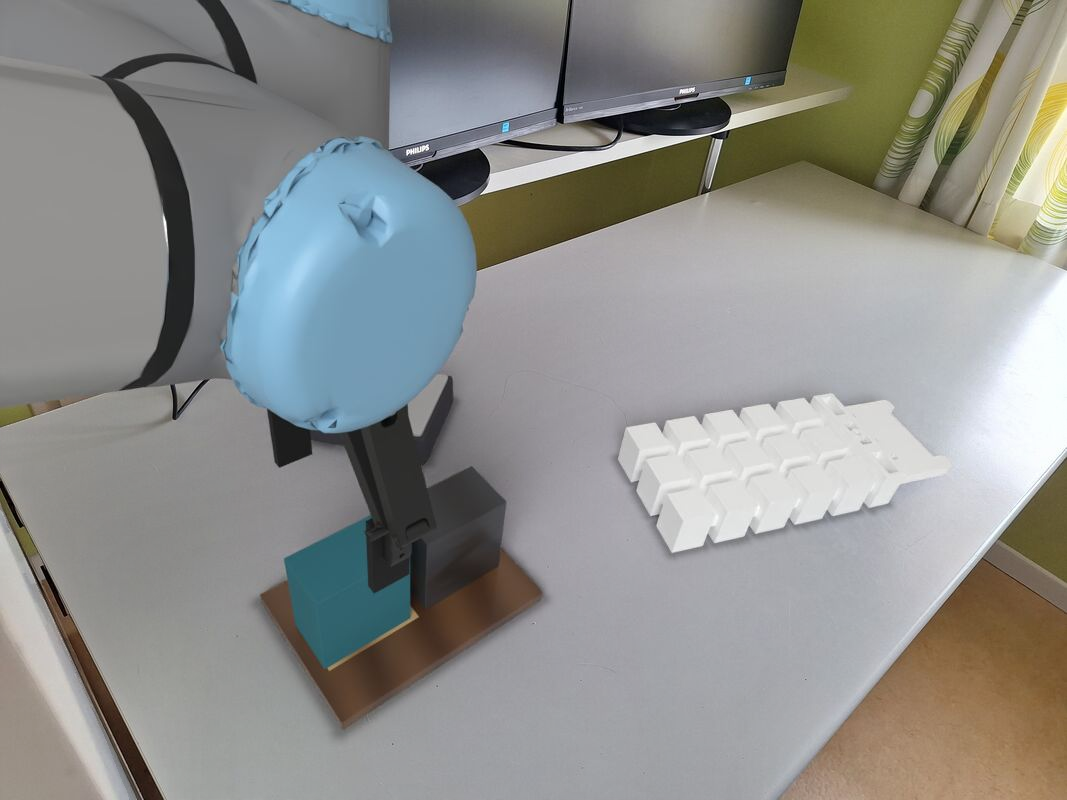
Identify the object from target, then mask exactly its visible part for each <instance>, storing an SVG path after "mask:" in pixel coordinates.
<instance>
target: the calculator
mask: <svg viewBox="0 0 1067 800" xmlns="http://www.w3.org/2000/svg"><path fill="white" fill-rule="evenodd" d="M453 402H454V378H453V376H451V375H447V374H443V373H437V375H436V376H435V377H434V378H433V380H432V381H431V382H430V383H429V384H428V385H427V386H426V387H425V388H424V389H423V390H422V391H421V392H420V393H419V394H418V395H417V396H416V397H415V398H414V399H413V400H411V401H410V402H409V403H408V416H409V420H410V424H411V428H412V431H413V435H414V439H415V443H416V447H417V451H418V455H419V459H420V463H421V465H424V464H425V463H426V462H427V461H428V459H429V456H430V454H431V453H432V450H433V448H434V446H435V443H436V441H437V439H438V436H439V434H440V432H441V430H442V428H443V425H444V423H445V421H446V419H447V416H448V414H449V412H450V409H451V407H452V405H453ZM310 434H311V441H312V440H314V441H318V442H322V443H323V442H324V443H328V444H334V445H340V446H344V444H343V441H342V439H341V436H340V434H339V433H323V432H322V431H320V430H310Z"/></svg>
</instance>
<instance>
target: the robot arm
mask: <svg viewBox="0 0 1067 800" xmlns="http://www.w3.org/2000/svg"><path fill="white" fill-rule="evenodd" d="M390 20H391V19H390V5H389V0H0V409H6V408H12V407H19V406H26V405H27V406H28V405H32V404H33V405H34V404H39V403H40V404H41V403H47V402H54V401H60V400H67V399H75V398H81V397H82V398H83V397H88V396H95V395H96V396H97V395H102V394H108V393H115V392H123V391H129V390H137V389H141V388H142V389H143V388H160V387H164V386H173V385H179V384H185V383H187V384H188V383H193V382H199V381H200V382H201V381H206V380H213V379H214V380H215V379H218V380H219V379H220V380H222V379H223V380H229V381H233V384H234V386H235V387H236V389H237V390H238V392H239V393H240V395H242V396H243V397H244V399H246V400H247V401H248V402H249V403H250V404H252V405H254V406H255V407H258V408H262V409H266V413H267V418H268V427H269V433H270V440H271V447H272V453H273V460H274V461H273V462H274V463H275V465H276V466H277V467H278V469H281V468H283V467H285V466H288V465H290V464H293V463H295V462H297V461H299V460H302V459H305V458H307V457H309V456H311V455H313V446H312V439H311V434H310V430H320V431H322V432H323V433H339V434H340V436H341V439H342V441H343V444H344V445H343V447H344V449H345V452H346V454H347V457H348V459H349V462H350V465H351V467H352V470H353V473H354V475H355V478H356V480H357V483H358V485H359V488H360V491H361V494H362V496H363V498H364V501H365V503H366V506H367V508H368V511H369V514H370V515H371V517H372V518H371V519H369V520H367V521H366V531H364V533H365V535H366V545H367V570H368V586H369V588H370V589H371V590H372V592H373V593H374V594H375V593H376V592H378V591H380V590H382V589H384V588H385V587H387V586H389V585H391V584H393V583H395V582H396V581H398V580H400V579H402V578H404V577H405V576H407V575H409V569H410V556H411V554H412V544H411V543H412V542H414V541H416V540H418V539H420V538H422V537H424V536H426V535H427V534H429V533H431V532H433V531H435V530H436V528H437V526H436V521H435V518H434V514H433V510H432V506H431V502H430V498H429V494H428V490H427V488H428V486H427V483H426V479H425V475H424V472H423V467H422V464H421V463H420V459H419V455H418V451H417V447H416V443H415V439H414V435H413V431H412V428H411V424H410V420H409V416H408V403H409V402H410V401H411V400H413V399H414V398H415V397H416V396H417V395H418V394H419V393H420V392H421V391H422V390H423V389H424V388H425V387H426V386H427V385H428V384H429V383H430V382H431V381H432V380H433V378H434V377H435V376H436V375H437V374H439V372H440V371H441V369H442V368H443V367H444V366H445V364H446V362H447V361H448V360H449V358H450V357H451V355H452V354H453V352H454V350H455V348H456V346H457V344H458V343H459V340H460V339H461V336H462V334H463V333H464V322H465V318H466V315H467V313H468V311H469V310H470V304H471V303H472V301H473V299H474V297H475V292H476V287H477V277H478V264H477V252H476V244H475V241H474V238H473V234H472V231H471V227H470V225H469V223H468V221H467V219H466V217H465V216H464V214H463V212H462V210H461V209H460V207H459V206H458V205H457V203H456V202H455V200H454V199H453V198H451V196H449V194H447V192H445V191H444V190H443V189H442V188H440V186H438V185H437V184H435V183H434V182H433V181H431V180H430V179H428V178H427V177H425V176H423V174H420V173H419V172H417V171H416V170H415V169H414V168H412V167H410V166H409V165H407V164H405V163H404V162H403V161H401V160H400V159H398V158H397V157H395V156H394V154H393V153H392V152H391V151H390V106H391V105H390V103H391V102H390V100H391V99H390V95H391V44H392V43H393V33H392V31H391V23H390V22H391V21H390Z"/></svg>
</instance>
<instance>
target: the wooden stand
mask: <svg viewBox="0 0 1067 800" xmlns="http://www.w3.org/2000/svg"><path fill="white" fill-rule="evenodd" d="M427 490H428V494H429V498H430V502H431V506H432V510H433V514H434V518H435V521H436V526H437V528H436V530H435V531H433V532H431V533H429V534H427V535H426V536H424V537H422V538H420V539H418V540H416V541H414V542H412V543H411V544H412V554H411V556H410V619H408V620H406V621H405V622H403V623H402V624H400V625H398V626H397V627H395V628H393V629H392V630H390V631H388V632H387V633H385V634H383V635H382V636H380V637H378V638H377V639H375V640H373V641H372V642H370V643H368V644H367V645H365V646H363V647H362V648H360V649H358V650H357V651H355V652H353V653H352V654H350V655H348V656H347V657H345V658H343V659H342V660H340V661H338V662H337V663H335V664H333V665H332V666H330V667H328V668H327V669H324V668H323V666H322V665H321V663H320V662H319V660H318V659H317V657H316V656H315V654H314V653H313V651H312V650H311V648H310V646H309V645H308V643H307V642H306V640H305V639H304V637H303V636H302V634H301V633H300V631H299V630H298V628H297V627H296V625H295V619H294V614H293V608H292V602H291V597H290V591H289V585H288V580H285V581H284V582H281V583H279V584H278V585H276V586H274V587H272V588H270V589H267V590H266V591H264V592H262V593H260V594H259V597H260V601H261V604H262V606H263V607H264V609H265V611H266V612H267V614H268V615H269V617H270V619H271V620H272V621H273V623H274V625H275V626H276V628H277V629H278V632H280V634H281V636H282V638H283V639H284V640H285V642H286V644H287V645H288V647H289V648H290V650H291V651H292V653H293V654H294V656H295V658H296V659H297V661H298V662H299V665H301V668H302V669H303V670H304V672H305V674H306V675H307V677H308V678H309V679H310V682H311V684H312V685H313V687H314V688H315V690H316V691H317V692H318V694H319V696H320V698H322V700H323V702H324V703H325V705H326V707H327V709H328V710H329V712H330V713H331V715H332V716H333V718H334V719H335V721H336V722H337V724H338V726H339V728H340V729H341V730H342V731H344V730H345V729H347V728H348V727H350V726H352V725H353V724H354V723H356V722H358V721H359V720H361V719H362V718H363V717H365V716H367V715H368V714H370V713H371V712H373V711H375V710H376V709H377V708H380V707H381V706H382V705H383V704H385V703H386V702H388V701H389V700H391V699H392V698H394V697H396V696H397V695H399V694H401V692H403V691H405V690H407V689H408V688H409V687H411V686H412V685H414V684H415V683H417V682H418V681H420V680H421V679H423V678H425V677H426V676H428V675H429V674H430V673H432V672H434V671H435V670H437V669H438V668H439V667H441V666H443V665H445V664H446V663H448V662H449V661H451V660H452V659H454V658H455V657H457V656H458V655H459V654H461V653H463V652H464V651H466V650H467V649H469V648H470V647H472V646H473V645H475V644H476V643H478V642H480V641H481V640H482V639H484V638H485V637H488V635H490V634H491V633H493V632H495V631H496V630H499V628H501V627H502V626H504V625H506V624H508V623H509V622H510V621H512V620H513V619H514V618H517V617H518V616H519V615H521V614H523V613H524V612H525V611H527V610H528V609H530V608H531V607H532V606H534V605H535V604H537V603H539V602H540V601H542V598H543V591H542V590H541V589H540V588H539V586H537V585H536V584H535V582H533V580H532V579H531V578H530V577H529V576H528V575H527V574H526V573H525V572H524V570H522V568H520V566H519V565H518V564H517V563H516V562H515V561H514V560H513V559H512V558H511V557H510V555H509V554H508V553H507V552H506V551H505V550H504V549H503V548H502V541H503V534H504V524H505V517H506V508H507V500H506V499H505V498H504V497H503V496H502V495H501V494H500V493H499V492H498V491H497V490H496V489H495V488H494V487H493V486H492V484H490V483H489V482H488V480H486V479H485V478H484V477H483V476H482V475H481V474H480V473H479V472H478V471H477V470H476V469H475V468H474V467H473V466H472V465H471V466H469V467H467V468H465V469H462V470H460V471H458V472H457V473H455V474H452V475H451V476H448V477H447V478H445V479H442V480H440V481H438V482H437V483H435V484H433V485H430V486H429V487H427Z"/></svg>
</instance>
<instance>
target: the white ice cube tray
mask: <svg viewBox="0 0 1067 800" xmlns="http://www.w3.org/2000/svg"><path fill="white" fill-rule="evenodd" d="M894 410H895V406H894V404H892V402H890V401H889V400H887V399H880V400H875V401H870V402H863V403H858V404H851V405H846V406H845V405H844V404H843V403H842V402H841V401H840V400H839V399H838V398H837V397H836V396H835V394H833V392H829V393H825V394H819V395H813V396H812V398H811V400H810V402H809V401H808V400H806V398H805V397H799V398H793V399H787V400H782V401H778V402H777V404H776V407H775V409H774V408H773V406H771V404H770V403H765V404H764V403H763V404H757V405H752V406H746V407H742V408H741V410H740V413H739V416H738V415H737V413H736V412H735V411H734V410H733V409H728V410H722V411H716V412H711V413H704V415H703V419H702V422H701V423H700V421H699V420H698V418H697V417H696V416H695V415H691V416H685V417H680V418H674V419H669V420H666V421H665V423H664V427H663V430H662V431H661V429H660V427H659V425H658V424H657V423H656V422H650V423H644V424H638V425H631V426H626V427H625V430H624V433H623V438H622V441H621V445H620V449H619V453H618V457H617V461H618V463H619V464H620V466H621V467H622V469H623V471H624V473H625V475H626V476H627V478H628V480H629V482H630V483H634V482H638V483H637V486H636V490H635V492H636V494H637V496H638V497H639V499H640V501H641V502H642V504H643V506H644V507H645V509H646V511H647V513H648V514H649V516H650V517H652V516H658V519H657V521H656V525H655V527H656V528H657V530H658V532H659V534H660V536H661V537H662V540H663V541H664V542H665V544H666V546H667V547H668V549H669V551H670V553H671V554H674V553H678V552H682V551H686V550H687V551H688V550H691V549H695V548H701V547H703V546H704V544H705V541H706V539H707V537H708V536H709V537H710V539H711V541H712V543H713V544H718V543H722V542H727V541H730V540H734V539H739V538H743V537H745V536H746V533H747V531H748V529H749V527H750V529H751V530H752V532H753V533H754V535H755V534H756V535H757V534H761V533H766V532H769V531H774V530H779V529H783V528H785V526H786V524H787V521H788V520H790V521H791V522H792V524H793V525H794V526H795V525H801V524H805V523H810V522H813V521H818V520H822V519H823V518H824V517H825V514H826V512H828V513H829V514H830V516H831V517H835V516H840V515H844V514H848V513H853V512H857V511H860V509H861V507H862V506H863V504H865V506H866V507H867V509H870V508H875V507H880V506H884V505H887V504H889V503H890V502H891V500H892V498H893V496H895V495H894V494H895V493H896V492H897V490H898V488H899V487H900V485H905V484H909V483H913V482H917V481H923V480H928V479H931V478H935V477H940V476H944V475H946V474H947V473H948V471H949V470H950V468H951V467H952V463H951V461H950V460H949V459H948V458H947V457H945V456H944V455H933V454H932V453H931V452H930V451H929V450H928V449H927V448H926V447H925V446H924V445H923V444H922V443H921V442H920V441H919V440H918V439H917V438H916V437H915V436H914V435H913V434H912V433H911V432H910V431H909V430H908V429H907V428H906V427H905V426H904V425H903V424H902V423H901V422H900V421H899V420H898V419H897V417H895V416H894V414H892V413H893V412H894Z"/></svg>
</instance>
